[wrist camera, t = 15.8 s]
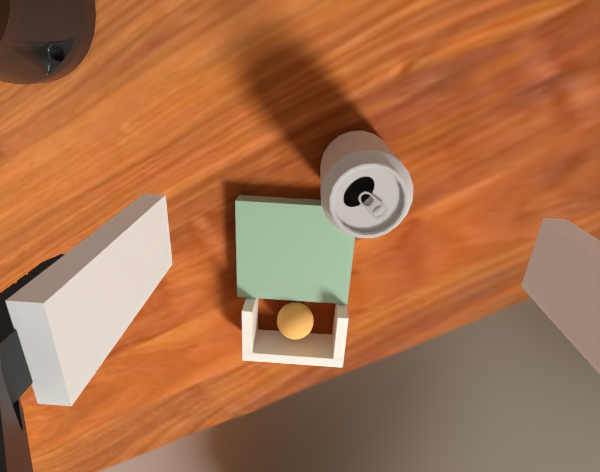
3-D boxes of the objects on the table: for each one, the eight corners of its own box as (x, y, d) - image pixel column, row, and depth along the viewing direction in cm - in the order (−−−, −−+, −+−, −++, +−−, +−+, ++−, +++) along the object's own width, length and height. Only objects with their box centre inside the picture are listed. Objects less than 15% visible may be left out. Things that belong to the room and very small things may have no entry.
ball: (274, 346, 46) (275, 314, 44) (278, 323, 50) (279, 293, 48) (312, 348, 46) (314, 317, 44) (312, 325, 50) (314, 296, 48)
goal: (248, 336, 51) (242, 360, 47) (248, 289, 48) (241, 311, 44) (340, 342, 50) (342, 367, 46) (346, 296, 48) (348, 318, 43)
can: (354, 113, 39) (368, 132, 28) (406, 162, 41) (439, 199, 30) (305, 168, 41) (300, 206, 30) (356, 212, 43) (368, 263, 32)
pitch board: (240, 287, 48) (237, 296, 46) (238, 194, 43) (235, 200, 41) (346, 294, 47) (347, 304, 46) (356, 201, 43) (358, 208, 41)
